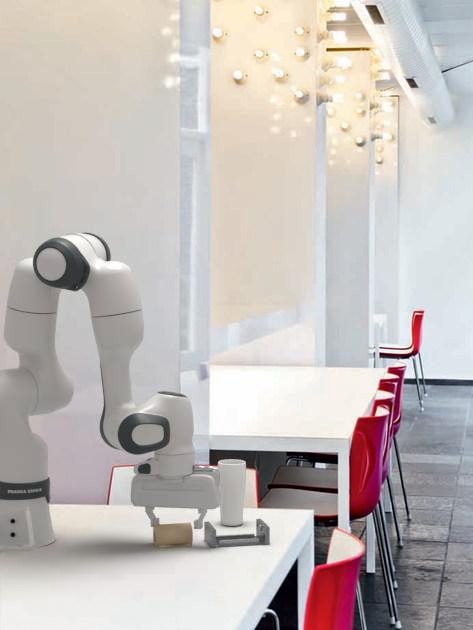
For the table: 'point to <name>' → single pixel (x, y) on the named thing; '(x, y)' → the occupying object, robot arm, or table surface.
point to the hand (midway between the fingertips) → (176, 527)
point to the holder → (237, 537)
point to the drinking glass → (232, 491)
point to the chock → (174, 545)
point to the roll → (172, 534)
